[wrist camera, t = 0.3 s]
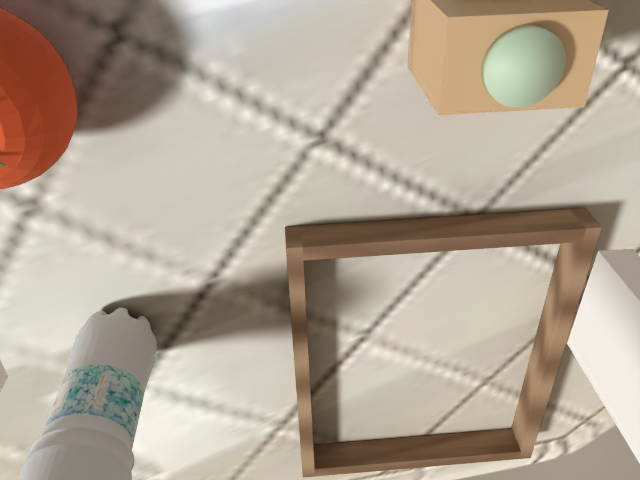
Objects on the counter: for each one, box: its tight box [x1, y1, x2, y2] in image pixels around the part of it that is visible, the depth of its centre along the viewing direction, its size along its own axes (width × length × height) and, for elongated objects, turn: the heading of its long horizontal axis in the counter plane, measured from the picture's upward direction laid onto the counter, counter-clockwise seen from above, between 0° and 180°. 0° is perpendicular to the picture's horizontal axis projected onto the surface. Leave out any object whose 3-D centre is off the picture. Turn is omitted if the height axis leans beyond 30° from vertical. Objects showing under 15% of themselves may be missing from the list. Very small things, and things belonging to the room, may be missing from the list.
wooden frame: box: [285, 208, 602, 477], centre depth 51 cm, size 28×23×3 cm
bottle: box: [20, 308, 157, 480], centre depth 40 cm, size 7×7×20 cm
